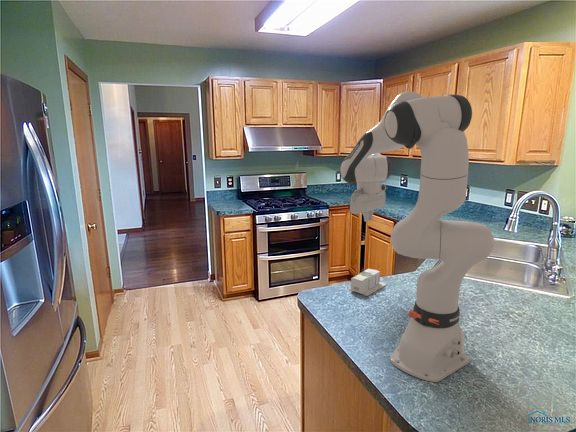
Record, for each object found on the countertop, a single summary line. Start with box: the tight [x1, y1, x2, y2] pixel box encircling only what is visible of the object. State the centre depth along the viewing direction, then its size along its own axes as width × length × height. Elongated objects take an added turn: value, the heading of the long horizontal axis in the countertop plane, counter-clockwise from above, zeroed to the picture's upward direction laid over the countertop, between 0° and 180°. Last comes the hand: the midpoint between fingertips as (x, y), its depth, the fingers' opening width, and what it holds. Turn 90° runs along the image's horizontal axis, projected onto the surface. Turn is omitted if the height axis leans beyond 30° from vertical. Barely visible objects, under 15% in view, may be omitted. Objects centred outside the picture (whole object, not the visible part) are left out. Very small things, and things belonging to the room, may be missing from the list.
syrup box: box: [350, 268, 381, 295], centre depth 145 cm, size 6×6×14 cm
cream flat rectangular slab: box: [348, 281, 388, 296], centre depth 147 cm, size 15×9×1 cm, turn 133°
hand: (367, 221), depth 141 cm, fingers closed
